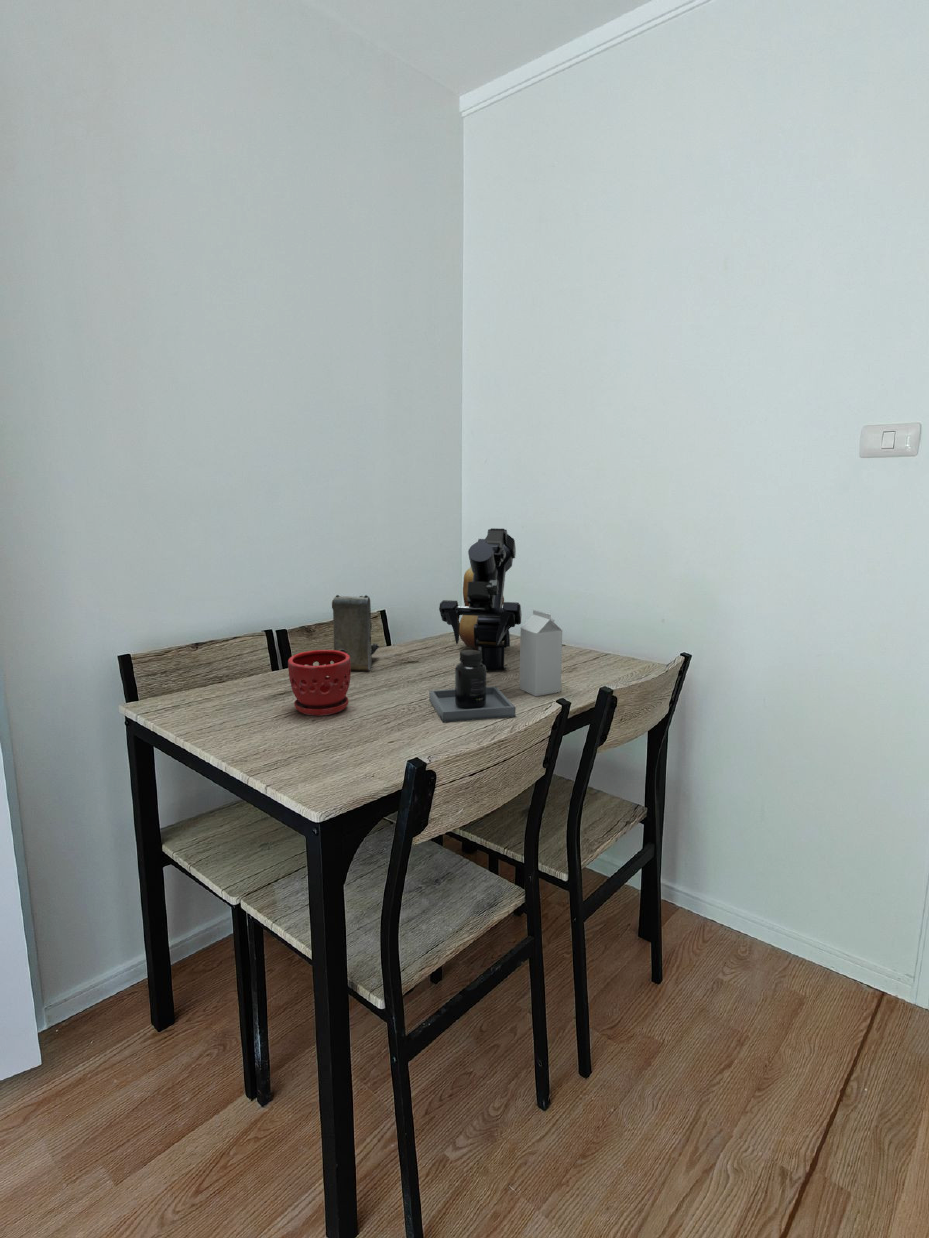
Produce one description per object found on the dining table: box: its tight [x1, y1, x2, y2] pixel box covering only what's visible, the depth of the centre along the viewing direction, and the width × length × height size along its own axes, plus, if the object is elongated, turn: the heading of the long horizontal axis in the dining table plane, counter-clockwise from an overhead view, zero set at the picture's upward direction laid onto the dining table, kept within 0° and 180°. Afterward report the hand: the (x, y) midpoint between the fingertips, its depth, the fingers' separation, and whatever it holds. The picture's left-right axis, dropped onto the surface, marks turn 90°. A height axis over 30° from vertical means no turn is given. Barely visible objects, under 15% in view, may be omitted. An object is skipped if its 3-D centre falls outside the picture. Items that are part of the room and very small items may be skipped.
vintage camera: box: [331, 594, 380, 672], centre depth 192 cm, size 10×15×20 cm, turn 174°
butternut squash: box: [459, 566, 505, 651], centre depth 208 cm, size 14×13×25 cm
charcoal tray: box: [428, 685, 517, 723], centre depth 157 cm, size 16×16×2 cm
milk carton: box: [519, 609, 563, 697], centre depth 168 cm, size 7×7×19 cm
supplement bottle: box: [454, 649, 487, 709], centre depth 156 cm, size 7×7×12 cm
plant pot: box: [287, 649, 352, 717], centre depth 155 cm, size 13×13×12 cm
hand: (476, 643), depth 163 cm, fingers open, 9 cm apart
